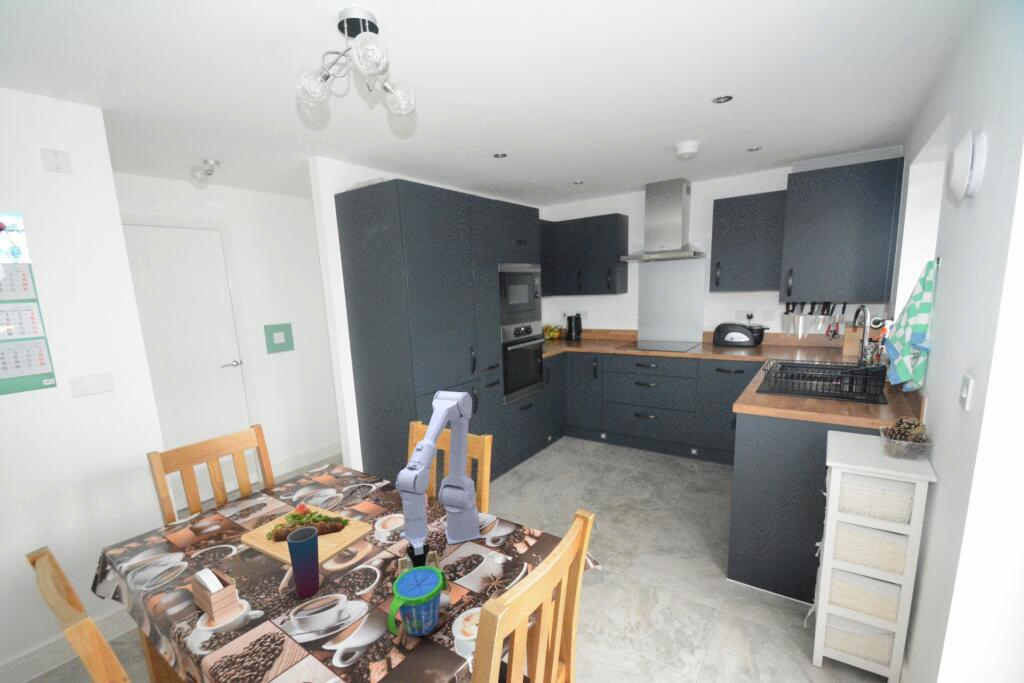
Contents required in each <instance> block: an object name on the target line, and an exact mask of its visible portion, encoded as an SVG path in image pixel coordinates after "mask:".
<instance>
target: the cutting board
mask: <svg viewBox="0 0 1024 683" xmlns="http://www.w3.org/2000/svg"><path fill="white" fill-rule="evenodd" d="M303 527H316V528H317V530H318V559H319V568H320V567H322V566H323V565H324V564H326V563H328V562H329V561H331V560H332V559H334V558H335V557H337V556H339V555H340V554H341V553H343V552H344V551H346V550H347V549H349V548H350V547H352V546H353V545H355V544H357V543H358V542H360V541H362V539H364V538H366V537H367V536H369V535H371V534H372V533H373V532H374V530H373V526H372V524H370V523H368V522H364V521H361V520H358V519H355V518H352V517H349V516H346V515H342V514H340V513H336V512H333V511H331V510H328V509H324V508H322V507H319V506H316V505H312V504H305V503H299V504H298V506H297V507H296V508H295V509H292V510H290V511H288V512H287V513H285V514H283V515H280V516H279V517H277V518H275V519H273V520H270V521H269V522H267V523H264V524H263V525H261V526H257V528H254V529H253V530H251V531H248V532H247V533H244V534H242V535H241V537H240V544H242V545H244V544H245V545H244V546H247V547H248V548H251V549H252V550H255V551H257V552H260V553H262V554H264V555H266V556H268V557H271V559H274V560H277V561H279V562H280V563H281V562H282V563H283V564H285V565H287V566H289V567H292V564H291V559H290V553H289V548H288V543H287V536H288V535H289V534H290V533H291V532H293V531H295V530H297V529H299V528H303Z"/></svg>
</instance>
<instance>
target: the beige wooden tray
mask: <svg viewBox="0 0 1024 683" xmlns="http://www.w3.org/2000/svg"><path fill="white" fill-rule="evenodd" d="M427 555H428V567H432V568H437V569H440V570H442V569H441V564H440V561H439V556H438V551H437V550H434V551H429V552H428V554H427ZM397 566H398V577H399V576H400V575H401V574H402V573H404V572H406V571H407V570H408V563H407V556H405V557H402V558H401V557H400V558H398V559H397Z"/></svg>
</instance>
